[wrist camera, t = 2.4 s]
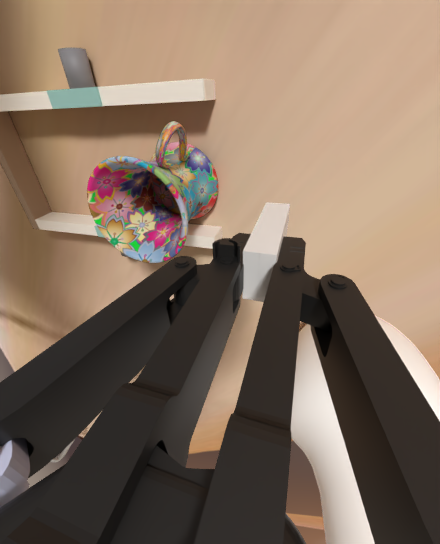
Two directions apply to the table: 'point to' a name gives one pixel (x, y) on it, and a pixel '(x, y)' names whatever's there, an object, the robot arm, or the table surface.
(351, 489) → the vase
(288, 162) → the table surface
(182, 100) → the teal-striped rail frame
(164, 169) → the mug
